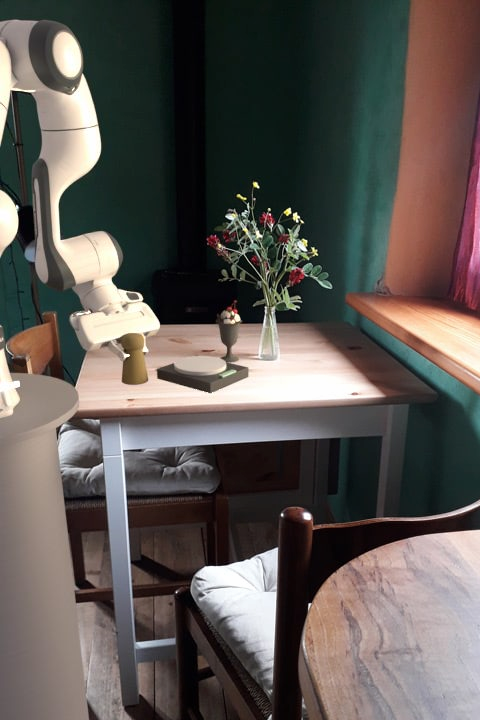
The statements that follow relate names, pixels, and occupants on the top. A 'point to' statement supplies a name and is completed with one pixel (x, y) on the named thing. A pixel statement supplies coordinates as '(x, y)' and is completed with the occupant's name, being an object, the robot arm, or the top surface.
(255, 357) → the top surface
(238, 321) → the sundae
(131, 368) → the cork
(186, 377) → the scale
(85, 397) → the top surface
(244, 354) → the top surface
